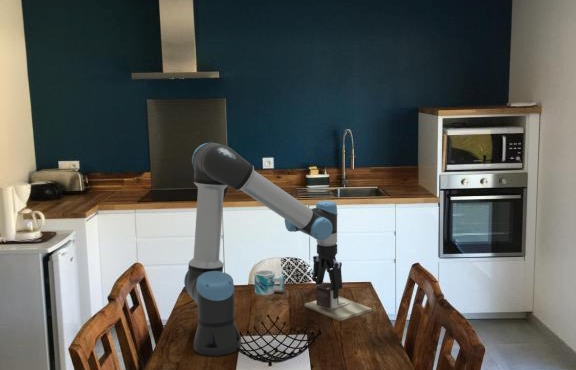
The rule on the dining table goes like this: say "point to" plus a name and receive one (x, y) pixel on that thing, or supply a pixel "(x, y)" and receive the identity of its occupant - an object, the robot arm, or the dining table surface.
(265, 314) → the dining table surface
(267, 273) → the mug
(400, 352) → the dining table surface
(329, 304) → the box
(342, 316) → the board
